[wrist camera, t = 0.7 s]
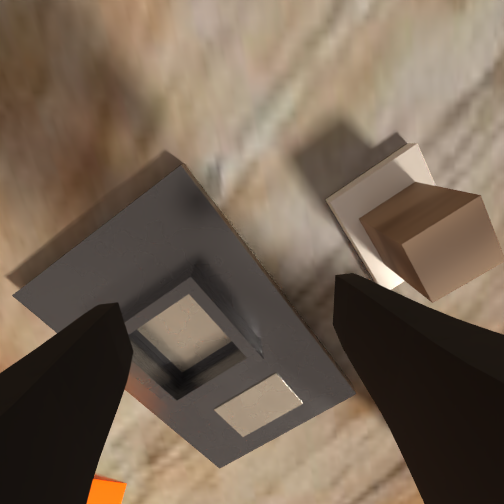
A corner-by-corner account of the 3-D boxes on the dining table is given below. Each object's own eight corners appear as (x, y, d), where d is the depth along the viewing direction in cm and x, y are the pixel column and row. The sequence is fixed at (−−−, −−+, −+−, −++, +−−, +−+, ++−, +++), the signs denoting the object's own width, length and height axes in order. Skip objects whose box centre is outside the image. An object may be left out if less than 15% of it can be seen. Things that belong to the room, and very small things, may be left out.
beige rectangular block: (452, 241, 20) (462, 246, 19) (377, 286, 21) (384, 293, 20) (407, 143, 18) (417, 143, 17) (325, 199, 19) (330, 202, 18)
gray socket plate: (350, 382, 25) (367, 415, 22) (220, 454, 27) (218, 493, 24) (184, 163, 17) (174, 167, 14) (24, 286, 20) (-13, 312, 17)
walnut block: (438, 231, 19) (505, 260, 14) (384, 264, 20) (432, 302, 15) (415, 181, 18) (480, 195, 13) (358, 218, 18) (401, 244, 14)
